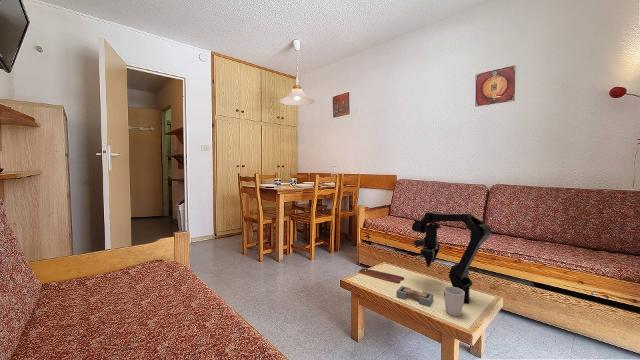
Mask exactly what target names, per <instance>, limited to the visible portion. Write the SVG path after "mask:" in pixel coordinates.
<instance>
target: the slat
mask: <svg viewBox="0 0 640 360" xmlns="http://www.w3.org/2000/svg"><path fill="white" fill-rule="evenodd" d="M403 292H406V293H407V299H408V300H411V301H414V302H418V303H419V297H424V298H428V294H425V293H423V291H422V292H421V291H418V290H413V289H412V288H411V289H407V288H405V289H404V290H403Z"/></svg>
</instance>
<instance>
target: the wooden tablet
mask: <svg viewBox="0 0 640 360" xmlns="http://www.w3.org/2000/svg"><path fill="white" fill-rule="evenodd" d="M365 270H366V271H365ZM357 273H359V274H360V275H364V276H369V277H372V278H377V279H380V280H384V281H386V282H387V281H388V282H391V283H395V284H400V283H401V282H402V281H404V280H405V277H404V276H401V275H397V274H392V273H388V272H383V271H380V270H379V271H378V270H374V269H370V268H369V270H368V268H364V267H363V268H361V269H359V270H358V272H357Z"/></svg>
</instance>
